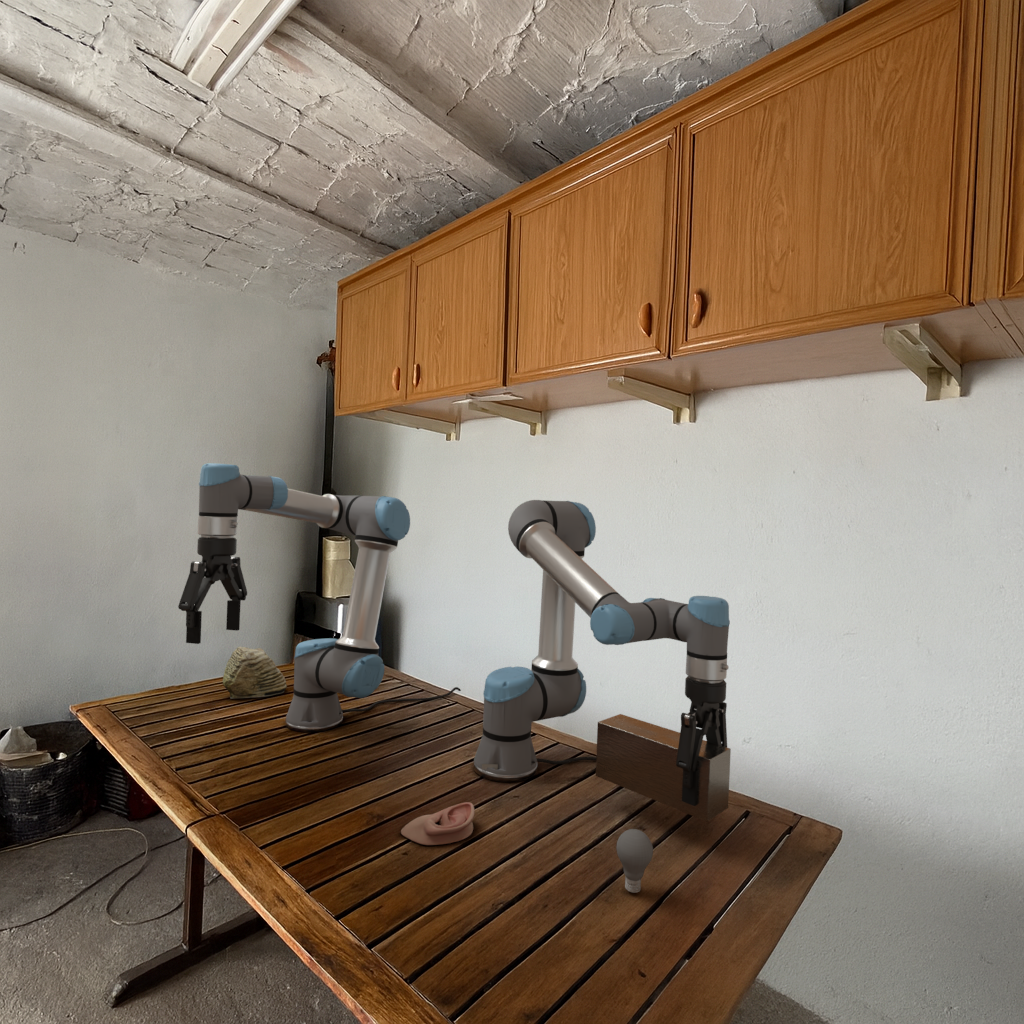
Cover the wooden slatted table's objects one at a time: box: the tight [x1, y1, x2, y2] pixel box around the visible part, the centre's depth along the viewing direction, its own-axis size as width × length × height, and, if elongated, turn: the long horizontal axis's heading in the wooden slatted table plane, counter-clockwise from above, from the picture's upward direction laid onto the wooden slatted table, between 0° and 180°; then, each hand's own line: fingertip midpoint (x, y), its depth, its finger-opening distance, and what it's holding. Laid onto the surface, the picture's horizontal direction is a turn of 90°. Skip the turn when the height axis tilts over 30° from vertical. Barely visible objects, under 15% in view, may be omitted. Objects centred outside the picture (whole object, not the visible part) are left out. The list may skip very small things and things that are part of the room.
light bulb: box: [615, 828, 654, 894], centre depth 106 cm, size 6×6×10 cm
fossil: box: [222, 646, 288, 699], centre depth 198 cm, size 9×18×15 cm, turn 132°
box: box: [595, 713, 732, 823], centre depth 128 cm, size 26×8×12 cm, turn 45°
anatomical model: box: [400, 801, 476, 846], centre depth 122 cm, size 13×4×12 cm
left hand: (214, 636), depth 135 cm, fingers open, 13 cm apart
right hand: (701, 795), depth 121 cm, fingers closed on box, 8 cm apart
